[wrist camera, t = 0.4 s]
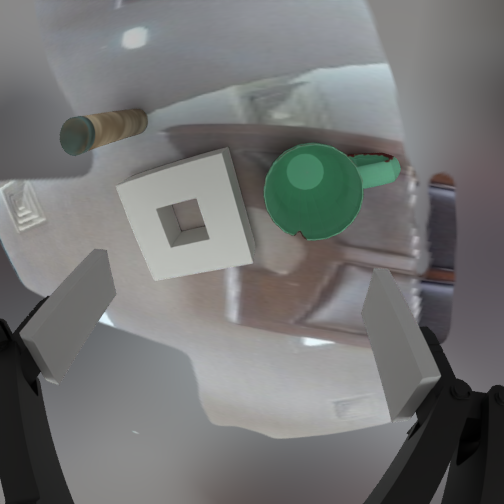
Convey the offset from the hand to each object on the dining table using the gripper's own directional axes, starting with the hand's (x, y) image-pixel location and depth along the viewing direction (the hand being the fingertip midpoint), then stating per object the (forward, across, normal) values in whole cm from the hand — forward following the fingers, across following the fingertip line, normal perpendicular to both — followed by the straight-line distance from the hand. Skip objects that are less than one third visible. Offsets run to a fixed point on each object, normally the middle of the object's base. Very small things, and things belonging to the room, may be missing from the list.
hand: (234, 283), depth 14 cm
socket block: (+26, -9, -6) cm, 28 cm away
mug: (+26, +8, +1) cm, 27 cm away
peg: (+26, -16, +6) cm, 31 cm away
